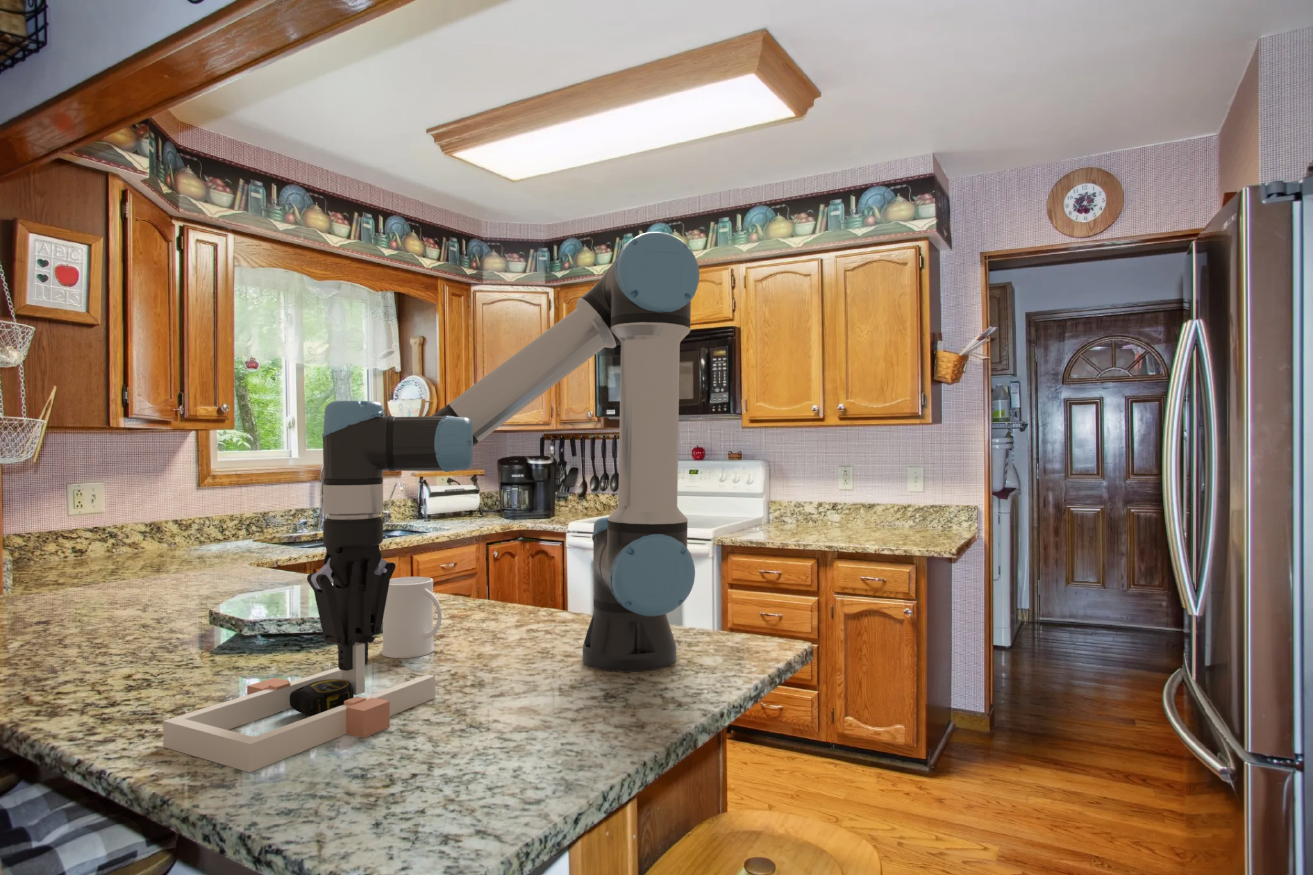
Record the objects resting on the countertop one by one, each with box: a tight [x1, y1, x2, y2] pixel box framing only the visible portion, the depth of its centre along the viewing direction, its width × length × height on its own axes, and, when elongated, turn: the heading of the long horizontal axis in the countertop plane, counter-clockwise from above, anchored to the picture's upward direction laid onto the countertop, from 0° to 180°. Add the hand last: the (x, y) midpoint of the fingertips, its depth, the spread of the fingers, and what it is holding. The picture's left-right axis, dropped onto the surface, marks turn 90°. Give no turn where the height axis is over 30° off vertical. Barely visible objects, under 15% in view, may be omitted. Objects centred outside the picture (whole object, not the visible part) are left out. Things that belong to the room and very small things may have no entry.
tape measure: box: [290, 679, 355, 717], centre depth 101 cm, size 7×7×4 cm
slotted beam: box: [162, 666, 436, 773], centre depth 99 cm, size 22×28×3 cm
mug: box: [380, 576, 443, 659], centre depth 131 cm, size 12×8×12 cm
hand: (353, 691), depth 105 cm, fingers closed
